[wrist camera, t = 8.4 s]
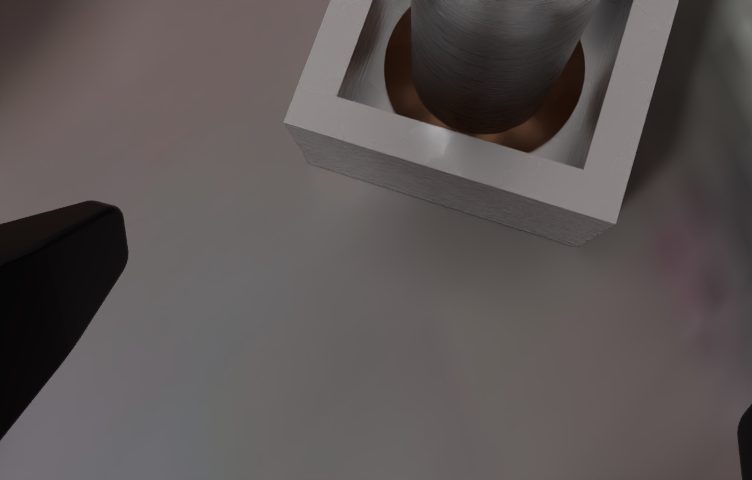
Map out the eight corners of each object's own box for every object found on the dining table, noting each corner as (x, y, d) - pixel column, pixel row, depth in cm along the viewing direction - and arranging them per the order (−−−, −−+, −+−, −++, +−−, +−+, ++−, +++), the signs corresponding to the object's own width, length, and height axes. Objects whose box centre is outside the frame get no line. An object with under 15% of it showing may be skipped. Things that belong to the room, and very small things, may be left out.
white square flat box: (576, 247, 16) (615, 224, 13) (307, 162, 17) (283, 122, 14) (650, -5, 17) (702, -82, 14) (395, -70, 18) (390, -155, 15)
